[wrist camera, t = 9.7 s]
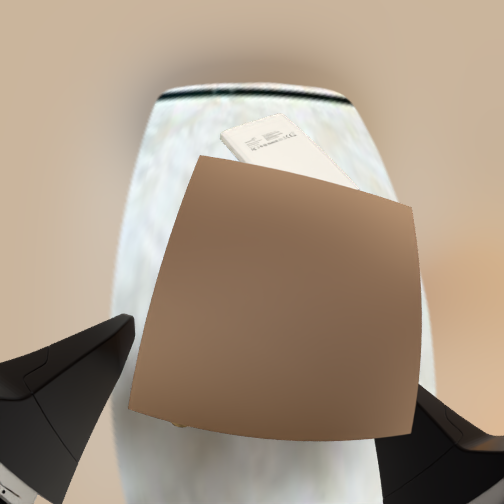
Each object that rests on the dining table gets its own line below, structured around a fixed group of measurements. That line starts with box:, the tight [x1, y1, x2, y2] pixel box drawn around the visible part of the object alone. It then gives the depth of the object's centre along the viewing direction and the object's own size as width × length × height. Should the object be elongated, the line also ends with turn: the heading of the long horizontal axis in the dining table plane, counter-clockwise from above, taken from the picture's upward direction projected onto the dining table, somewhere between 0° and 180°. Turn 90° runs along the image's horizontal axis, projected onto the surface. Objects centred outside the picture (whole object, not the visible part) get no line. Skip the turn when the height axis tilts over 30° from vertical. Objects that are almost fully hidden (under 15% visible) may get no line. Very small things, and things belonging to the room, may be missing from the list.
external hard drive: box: [220, 113, 360, 190], centre depth 25 cm, size 2×8×12 cm
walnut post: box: [128, 155, 422, 441], centre depth 11 cm, size 5×5×14 cm
